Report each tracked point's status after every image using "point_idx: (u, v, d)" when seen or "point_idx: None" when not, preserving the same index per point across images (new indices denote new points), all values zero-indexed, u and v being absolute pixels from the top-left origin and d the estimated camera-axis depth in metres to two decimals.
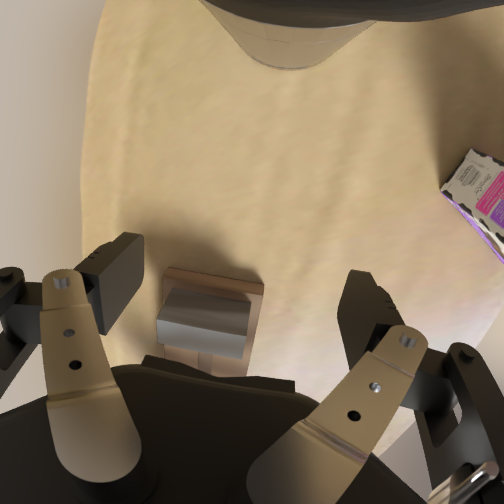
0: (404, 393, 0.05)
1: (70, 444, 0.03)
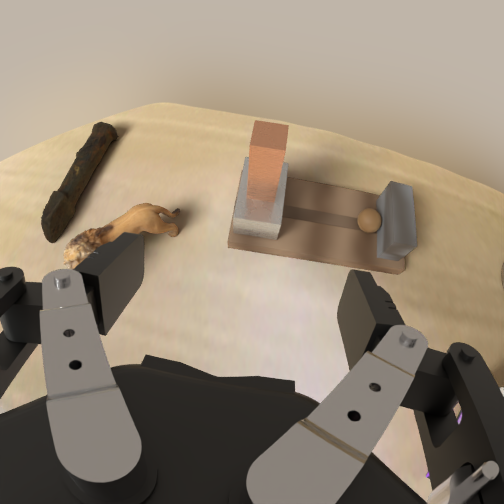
0: (404, 393, 0.05)
1: (70, 444, 0.03)
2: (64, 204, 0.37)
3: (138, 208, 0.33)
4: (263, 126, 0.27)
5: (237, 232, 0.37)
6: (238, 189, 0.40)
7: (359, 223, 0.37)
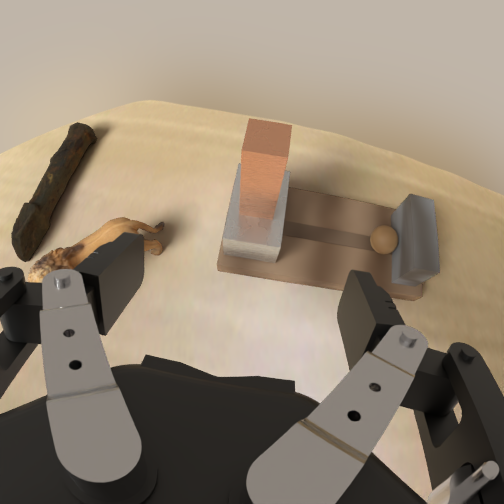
0: (404, 393, 0.05)
1: (70, 444, 0.03)
2: (35, 217, 0.31)
3: (112, 223, 0.27)
4: (259, 126, 0.21)
5: (228, 254, 0.31)
6: None
7: (372, 243, 0.31)
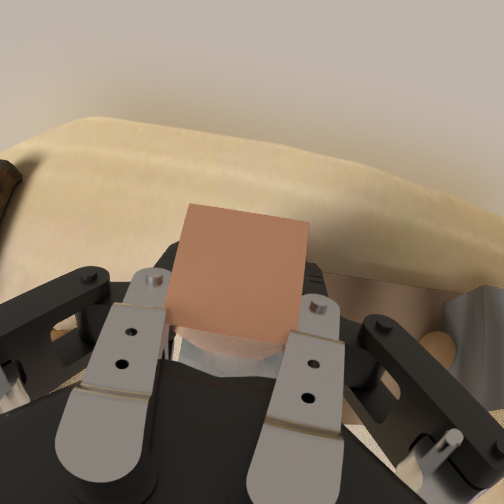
0: (342, 362, 0.06)
1: (70, 444, 0.03)
2: None
3: None
4: (217, 230, 0.08)
5: None
6: None
7: None
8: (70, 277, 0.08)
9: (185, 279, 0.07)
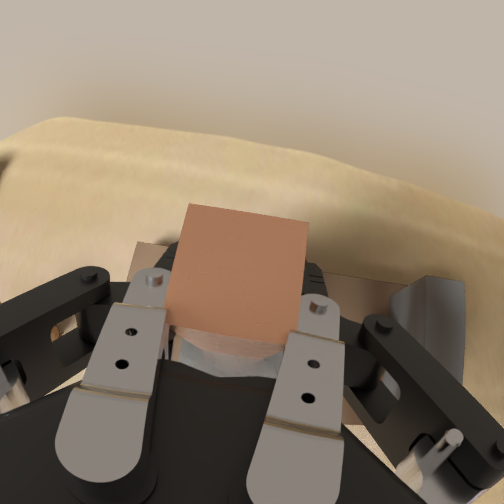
0: (342, 362, 0.06)
1: (70, 444, 0.03)
2: None
3: None
4: (216, 230, 0.08)
5: None
6: (127, 281, 0.21)
7: None
8: (70, 277, 0.08)
9: (184, 279, 0.07)
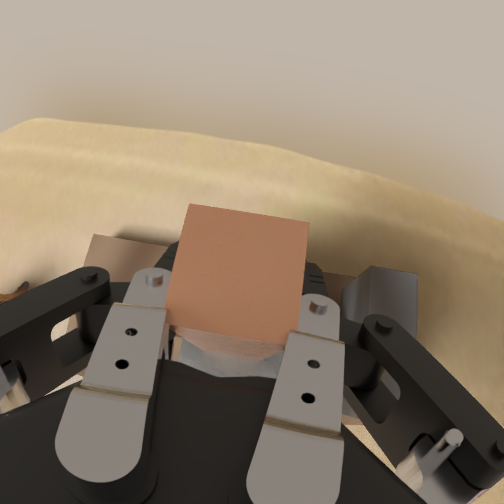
0: (343, 362, 0.06)
1: (70, 444, 0.03)
2: None
3: None
4: (216, 231, 0.08)
5: None
6: None
7: None
8: (70, 277, 0.08)
9: (185, 279, 0.07)
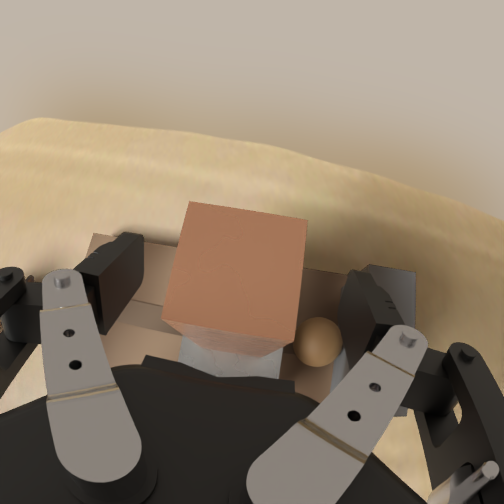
0: (404, 393, 0.05)
1: (70, 444, 0.03)
2: None
3: None
4: (216, 228, 0.08)
5: None
6: None
7: (294, 350, 0.18)
8: None
9: (185, 276, 0.07)
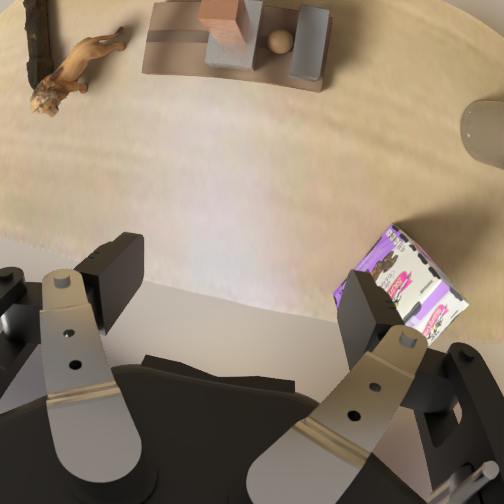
0: (404, 393, 0.05)
1: (70, 444, 0.03)
2: (40, 63, 0.32)
3: (78, 46, 0.28)
4: None
5: (215, 67, 0.33)
6: (150, 22, 0.31)
7: (267, 44, 0.31)
8: None
9: (204, 7, 0.20)
